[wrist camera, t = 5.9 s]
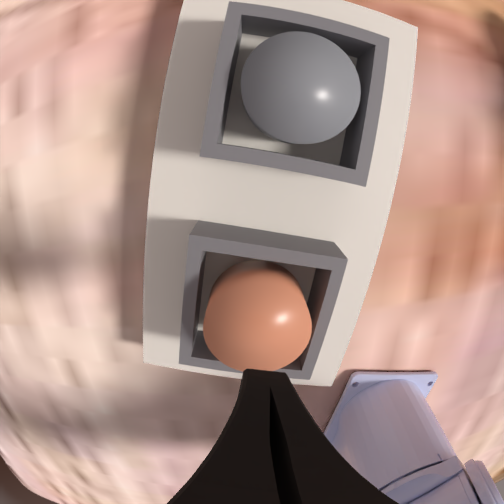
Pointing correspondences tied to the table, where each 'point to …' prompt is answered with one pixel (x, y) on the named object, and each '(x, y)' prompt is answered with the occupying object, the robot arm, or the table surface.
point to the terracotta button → (257, 317)
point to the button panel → (269, 179)
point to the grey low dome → (300, 88)
